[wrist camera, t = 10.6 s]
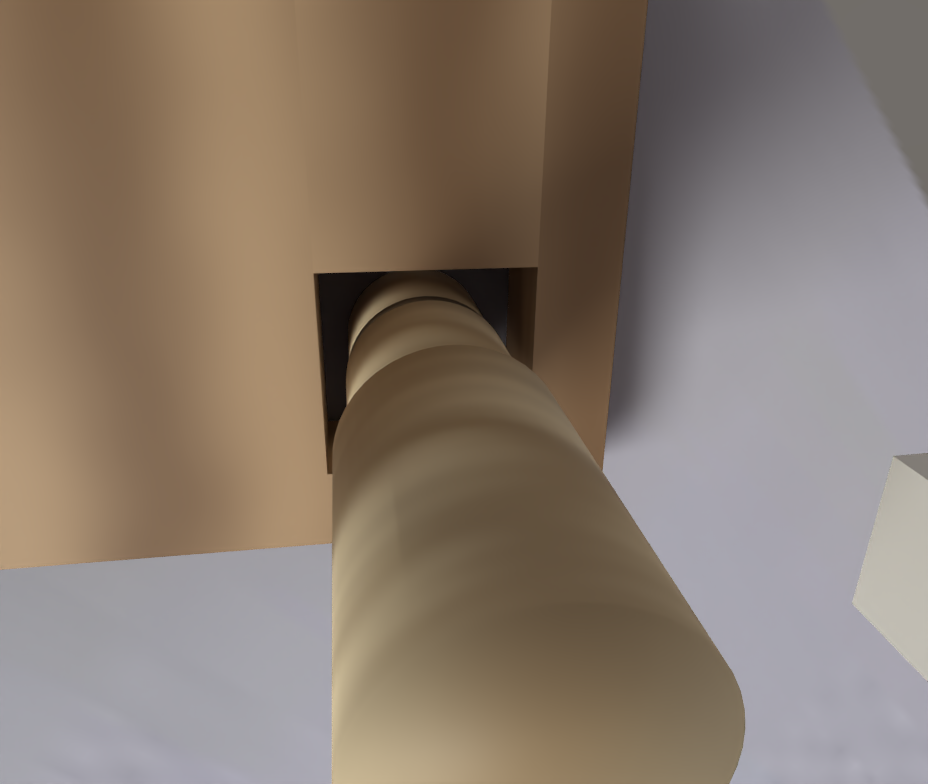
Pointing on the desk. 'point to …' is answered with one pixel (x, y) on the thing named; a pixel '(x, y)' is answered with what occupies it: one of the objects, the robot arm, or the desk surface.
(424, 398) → the leg peg
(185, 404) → the board
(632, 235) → the desk surface
